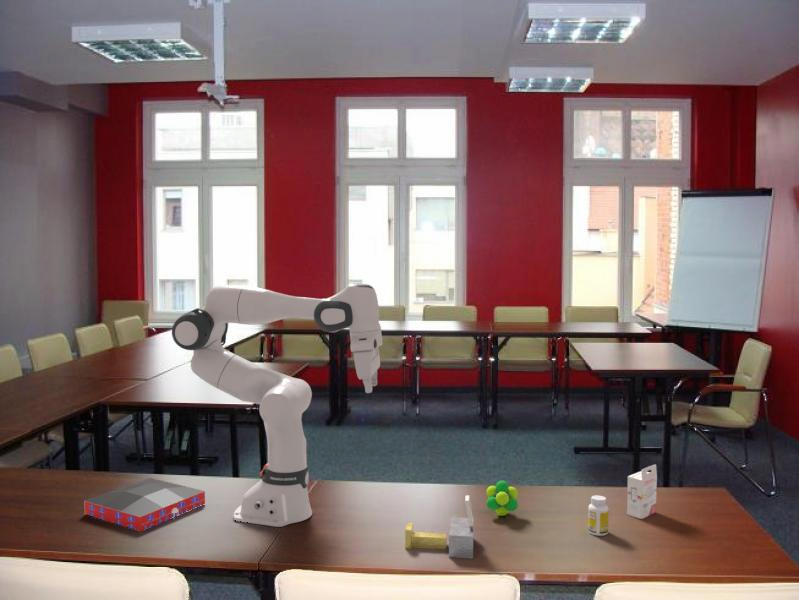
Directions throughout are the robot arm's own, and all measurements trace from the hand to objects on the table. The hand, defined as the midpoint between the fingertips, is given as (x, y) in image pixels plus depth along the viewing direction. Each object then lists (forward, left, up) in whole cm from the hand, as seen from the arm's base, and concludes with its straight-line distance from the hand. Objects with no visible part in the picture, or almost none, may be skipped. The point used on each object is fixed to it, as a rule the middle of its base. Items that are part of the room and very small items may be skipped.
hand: (371, 389), depth 200 cm
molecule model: (+37, +9, -38) cm, 54 cm away
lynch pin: (+17, -15, -38) cm, 44 cm away
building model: (-67, -1, -39) cm, 77 cm away
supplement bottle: (+63, 0, -38) cm, 74 cm away
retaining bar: (+29, -15, -32) cm, 45 cm away
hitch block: (+26, -15, -38) cm, 49 cm away
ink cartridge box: (+78, +16, -38) cm, 89 cm away
